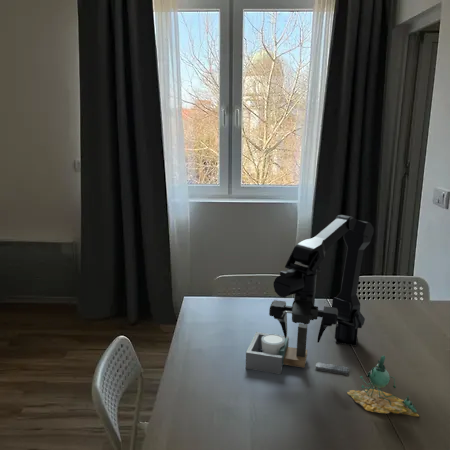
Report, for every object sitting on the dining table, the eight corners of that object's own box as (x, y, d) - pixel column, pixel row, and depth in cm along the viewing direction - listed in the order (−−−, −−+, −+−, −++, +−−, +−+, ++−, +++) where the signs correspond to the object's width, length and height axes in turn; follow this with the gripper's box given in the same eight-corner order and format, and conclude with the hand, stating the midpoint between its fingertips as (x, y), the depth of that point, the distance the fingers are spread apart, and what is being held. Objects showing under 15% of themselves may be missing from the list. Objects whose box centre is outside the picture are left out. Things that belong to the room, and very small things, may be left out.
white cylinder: (283, 367, 133) (284, 345, 131) (259, 365, 134) (260, 343, 132) (284, 355, 140) (285, 334, 138) (261, 354, 141) (262, 332, 139)
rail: (348, 370, 132) (348, 367, 132) (348, 374, 130) (348, 371, 130) (316, 365, 135) (316, 362, 135) (315, 369, 133) (315, 366, 132)
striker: (307, 355, 138) (309, 320, 135) (304, 368, 130) (306, 332, 128) (283, 351, 140) (285, 317, 137) (278, 364, 132) (280, 328, 130)
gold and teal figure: (409, 432, 107) (409, 372, 105) (338, 407, 119) (336, 353, 117) (424, 412, 114) (424, 356, 112) (356, 391, 126) (354, 339, 124)
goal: (288, 351, 142) (288, 336, 141) (281, 374, 130) (281, 358, 129) (255, 346, 145) (256, 331, 144) (245, 368, 132) (246, 352, 131)
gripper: (266, 294, 124) (264, 347, 128) (338, 303, 119) (333, 358, 123) (273, 280, 135) (271, 330, 138) (339, 288, 130) (335, 339, 133)
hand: (301, 339), depth 133 cm, fingers open, 9 cm apart
